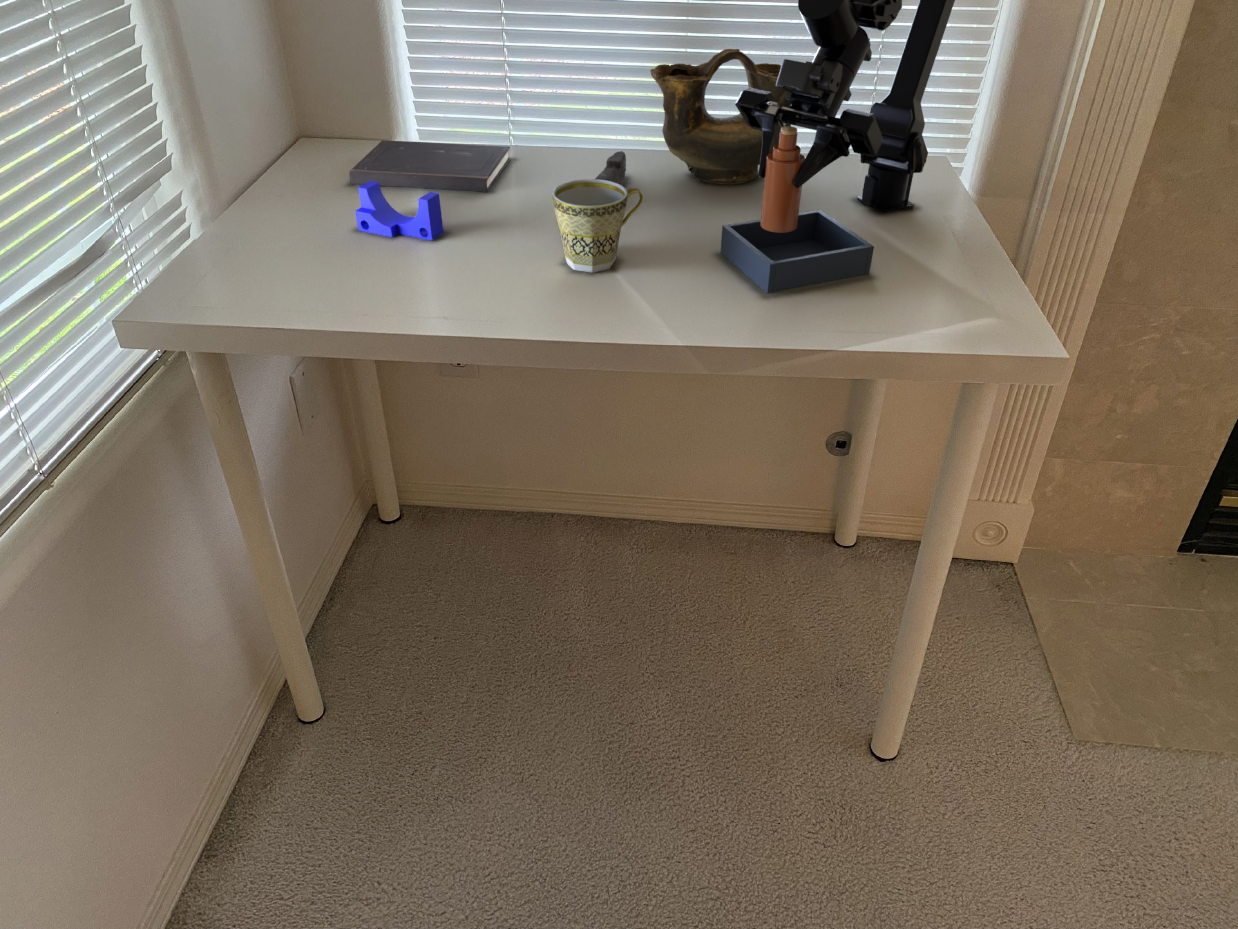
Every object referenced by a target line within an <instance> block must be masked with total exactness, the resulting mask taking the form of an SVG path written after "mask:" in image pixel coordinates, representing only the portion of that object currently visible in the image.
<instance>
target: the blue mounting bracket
mask: <svg viewBox="0 0 1238 929" xmlns="http://www.w3.org/2000/svg"><path fill="white" fill-rule="evenodd" d="M357 190H358V195H359V202H360V207H359V208H358V209H356V210H354V213H355V219H356V224H357V229H358V231H360V232H364V233H369V234H375V235H379V236H383V237H389V238H393V237H395V236H397V235H402V236H407V237H413V238H418V239H422V240H426V241H434V240H435V239H437V238H439V237H440V236H442V235H443V234H444V224H443V214H442V207H441V199H440V193H438V192H433V191H429V192H428V193H425V194H424V195H423V196H420V197H419V198H418V199H417V201H418V207H417V212H416V214H415V216H407V215H404V214H402V213H400V212H399V211H397V210H396V209H395V208H394V207H392V205H390V203H389V202H388V200H387V199H386V197H385V195H384V193H383V192H382V189H381V186H380V185H379V182H375V181H369V182H367V183H366V184H364V185H360V186H358V187H357Z"/></svg>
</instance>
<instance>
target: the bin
mask: <svg viewBox="0 0 1238 929" xmlns="http://www.w3.org/2000/svg"><path fill="white" fill-rule="evenodd" d="M760 222H761V218H760V219H753V220H748V221H742V222H735V223H731V224H722V226H721V240H720V254H721V255H722V256H723V257H725V258H726V259H727V260H728V261H729V262H730V263H731V264H732V265H734V266H735V267H736V268H737V269H738V270H739V271H741V273H743V274H744V275H745V276H747V278H749V280H751V281H752V282H753V283H755V285H757V286H758V287H759V288H760V289H761V290H763V292H764V293H766V294H767V295H768V294H772V293H778V292H784V291H788V290H795V289H800V288H805V287H810V286H816V285H821V284H826V283H831V282H837V281H842V280H847V279H853V278H857V277H862V276H863V277H864V276H868V275H870V273H871V272H870V271H871V266H872V261H873V256H874V249H875V246H874V245H873V244H871V243H870V242H868V240H866V239H864V238H863V237H862V236H860V235H858V234H857V233H856V232H854V231H853V230H851V229H849V228H848V227H847V226H845V225H844V224H842V223H841V222H839V221H838V220H836V219H834V218H833V217H832V216H830V215H828V214H827V213H826V212H824V211H823V210H821V209H816V210H810V211H804V212H803V211H802V212H799V217H798V225H797V228H796V229H795V230H794V231H791V232H786V233H776V232H771V231H767V230H765V229H763V228H762V227H761V225H760Z"/></svg>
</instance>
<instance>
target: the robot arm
mask: <svg viewBox="0 0 1238 929" xmlns="http://www.w3.org/2000/svg"><path fill="white" fill-rule="evenodd" d="M955 1H956V0H918V3H917V6H916V10H915V12H914V16H913V18H912V22H911V25H910V29H909V31H908V34H907V37H906V40H905V43H904V47H903V50H902V52H901V57H900V59H899V62H898V66H897V68H896V72H895V74H894V78H893V80H892V83H891V87H890V89H889V92H888V94H887V95H886V96H885V97H884V98H883V99H882V100H881V101H880V102H877V101H876V102H874V103H873V104H872V106H871V107H870V110H869V112H866V111H863V110H862V111H861V110H857V109H853V108H847V109H844V110H843V111H842V113H841V114H840V116H839V117H837V114H838V112H839V111H840V108H841V107H842V104H843V102H844V101H845V102H849V101H850V99H851V97H852V95H853V94H852V92H851V89H850V88H851V86H852V84H853V83H854V80H855V78H856V77H857V74H858V72H859V70H860V68H861V66H862V64H863V62H870V61H871V60H872V55H873V53H872V52H873V51H872V49H871V47H872V46H871V45H872V44H871V39H870V37H869V36H868V33H867V31H866V29H868V30H869V29H870V30H875V31H883V32H884V31H885V30H886V29H888V28H889V27H890V26H891V24H893V22H894V21H895V20H896V19H897V17H898V16H899V13H900V11H901V10H902V8H903V0H798V1H797V7H798V12H799V13H800V15H801V18H802V20H803V22H804V26H805V27H806V30H807V31H808V35H809V36H810V38H811V40H812V42H813V43H814V44H815V45H816V46H817V47H818V49H817V51H816V53H815V55H814V57H813V59H812V61H808V60H806V61H805V62H803V61H799V60H792V59H788V58H787V59H786V58H784V59H783V60H782V64H781V65H782V66H781V69H780V73H779V76H778V79H777V83H776V87H777V88H780V87H781V88H783V89H785V90H786V93H785V95H784V96H785V98H786V100H787V101H790V102H791V105H790V107H785V106H781V105H780V104H779V103H776V101H775V99H774V97H773V95H772V93H771V92H767V91H763V90H758V89H753V88H749V87H747V88H744V89H743V90H742V91H741V92H739V95H738V98H737V99H736V101H735V102H734V105H735V107H736V108H737V110H738V112H739V114H740V113H741V115H742V117H743V118H744V120H745V122H746V123H747V125H748V126H749V127H751V128H752V129H756V130H761V131H763V140H762V150H761V158H760V165H758V173H759V178H760V179H765V170H766V159H767V155H768V154H769V153H771V152H773V147H774V146H775V145H776V144H779V134H780V132H781V128H782V127H785V126H786V124H791V126H794V127H800V128H803V129H808V130H813V131H815V136H814V140H813V143H812V145H811V147H810V149H809V151H808V153H807V154H806V156H805V160H804V162H803V164H802V166H801V168H800V169H799V171H798V173H797V176H796V178H795V181H794V186H795V187H796V188H799V187H800V186H802V187H803V185H804V184H806V183H807V182H808V181H809V180H810V179H812V178H813V177H814V176H816V175H817V174H818V173H819V172H820V171H822V170H823V169H825V168H826V167H828V166H829V165H830V164H832V163H833V162H835V161H836V160H838V159H840V158H841V157H844V158H845V157H846V158H847V157H849V156H850V147H851V149H852V152H853V153H855V154H858V155H860V163H861V164H866V165H868V170H867V174H866V175H865V176H864V182H863V187H862V194H861V195H858V196H857V201H859V202H861V203H862V204H863V205H865V206H867V207H869V208H870V209H872V210H873V211H875V212H877V213H878V214H884V213H892V212H896V211H897V212H898V211H902V210H909V209H913V208H914V207H915V203H913V202H911V201H909V198H910V194H911V188H912V183H913V178H914V174H921V173H923V170H924V167H925V165H926V164H927V158H928V155H929V151H928V148H927V146H926V142H925V139H924V136H923V133H924V130H925V125H926V122H925V116H924V113H923V108H922V100H923V96H924V94H925V91H926V88H927V85H928V82H929V79H930V76H931V73H932V70H933V67H934V65H935V62H936V59H937V55H938V52H939V49H940V47H941V43H942V40H943V37H944V34H945V31H946V29H947V25H948V23H949V19H950V17H951V14H952V11H953V8H954V5H955Z"/></svg>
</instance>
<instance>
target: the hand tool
mask: <svg viewBox="0 0 1238 929" xmlns="http://www.w3.org/2000/svg"><path fill="white" fill-rule="evenodd" d="M605 163H606V165H605V167H604V168H603V170H602V171H601V172H600V173H598V175H597V176H596V177H595V178H594V179H599V180H606V181H611V182H614V183H617V184H620V185H621V186H623V184H624V182H625V179H626V171H627V156H626V153H625V151H623V150H621V151H616V152H614V153H613V154H612V155H611V156H609V157H608V158H607V159H606V162H605Z"/></svg>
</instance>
